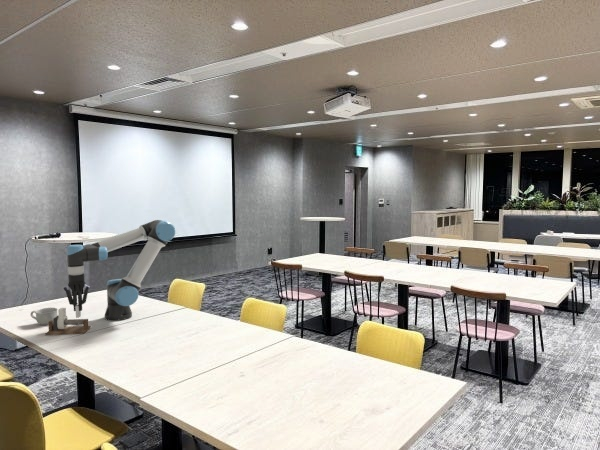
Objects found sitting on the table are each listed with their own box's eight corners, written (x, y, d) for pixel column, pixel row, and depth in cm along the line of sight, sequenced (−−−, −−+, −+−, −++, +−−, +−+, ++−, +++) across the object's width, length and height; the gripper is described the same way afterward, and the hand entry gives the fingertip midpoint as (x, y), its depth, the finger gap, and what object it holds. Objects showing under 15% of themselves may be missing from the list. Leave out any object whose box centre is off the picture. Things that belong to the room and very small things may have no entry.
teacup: (62, 321, 248) (61, 307, 248) (49, 327, 238) (49, 312, 237) (39, 320, 250) (39, 307, 249) (26, 326, 239) (25, 312, 238)
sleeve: (67, 325, 233) (67, 307, 232) (63, 329, 227) (62, 310, 226) (61, 326, 232) (61, 307, 232) (57, 329, 227) (56, 310, 226)
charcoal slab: (62, 326, 233) (61, 315, 232) (57, 330, 226) (56, 318, 226) (59, 326, 233) (58, 315, 232) (53, 330, 226) (53, 318, 226)
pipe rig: (91, 327, 237) (90, 315, 237) (83, 333, 226) (83, 321, 226) (54, 328, 235) (54, 317, 234) (45, 335, 224) (44, 323, 223)
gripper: (91, 272, 233) (93, 314, 235) (66, 272, 232) (68, 315, 234) (86, 274, 226) (88, 318, 228) (60, 275, 224) (62, 319, 226)
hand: (78, 316), depth 231 cm, fingers closed
